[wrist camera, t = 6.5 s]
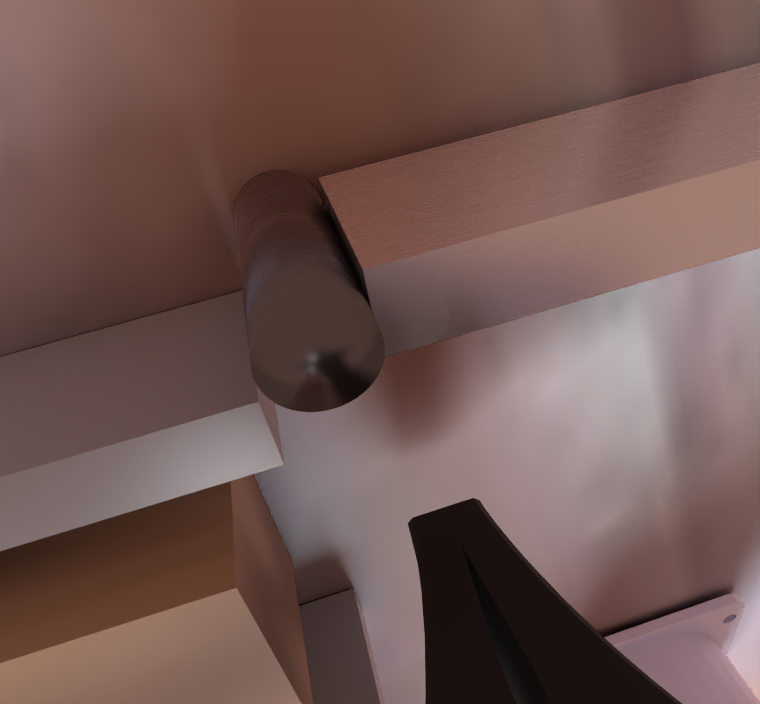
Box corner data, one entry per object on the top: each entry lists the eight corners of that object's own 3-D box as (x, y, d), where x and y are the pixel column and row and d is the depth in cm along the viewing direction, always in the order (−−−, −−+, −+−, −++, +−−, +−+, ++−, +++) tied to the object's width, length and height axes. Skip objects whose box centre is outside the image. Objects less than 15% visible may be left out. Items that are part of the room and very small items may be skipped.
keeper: (249, 265, 10) (272, 426, 6) (220, 183, 9) (232, 322, 6) (883, 93, 11) (1170, 159, 8) (912, 6, 10) (1248, 38, 7)
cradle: (362, 611, 16) (389, 729, 14) (20, 725, 15) (-13, 871, 13) (244, 289, 10) (258, 401, 8) (-344, 451, 9) (-538, 634, 7)
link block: (291, 557, 14) (317, 731, 11) (42, 636, 14) (-5, 844, 11) (226, 407, 11) (236, 587, 8) (-96, 500, 11) (-217, 732, 8)
